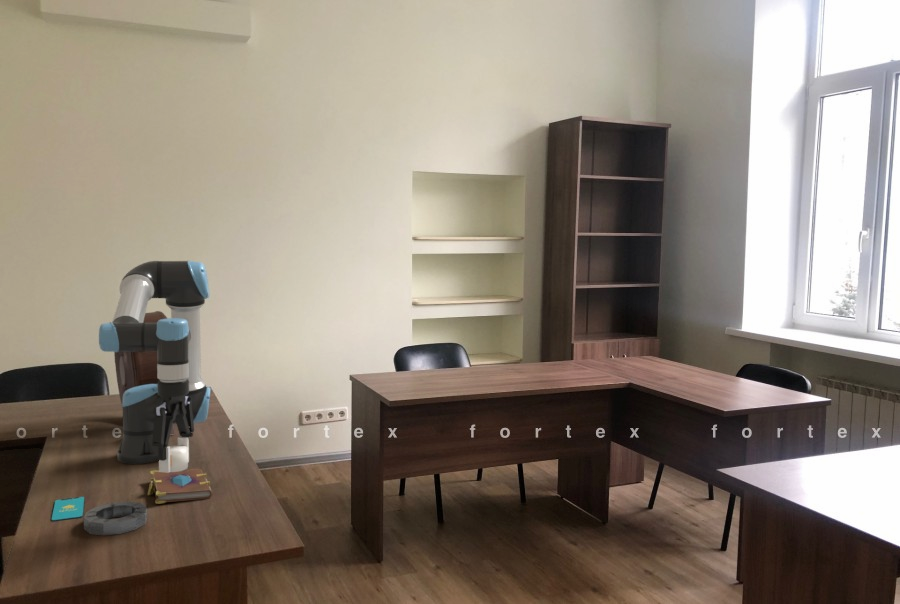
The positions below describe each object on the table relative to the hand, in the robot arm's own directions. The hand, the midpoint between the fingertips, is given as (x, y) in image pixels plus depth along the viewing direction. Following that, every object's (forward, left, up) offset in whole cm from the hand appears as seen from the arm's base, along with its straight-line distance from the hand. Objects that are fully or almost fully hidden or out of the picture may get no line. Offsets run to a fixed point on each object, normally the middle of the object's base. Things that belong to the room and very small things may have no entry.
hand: (174, 466), depth 186 cm
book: (-18, -11, -14) cm, 26 cm away
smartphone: (+3, -29, -14) cm, 32 cm away
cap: (0, 0, 0) cm, 0 cm away
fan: (-73, -59, -13) cm, 94 cm away
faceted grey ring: (+8, -11, -13) cm, 19 cm away
